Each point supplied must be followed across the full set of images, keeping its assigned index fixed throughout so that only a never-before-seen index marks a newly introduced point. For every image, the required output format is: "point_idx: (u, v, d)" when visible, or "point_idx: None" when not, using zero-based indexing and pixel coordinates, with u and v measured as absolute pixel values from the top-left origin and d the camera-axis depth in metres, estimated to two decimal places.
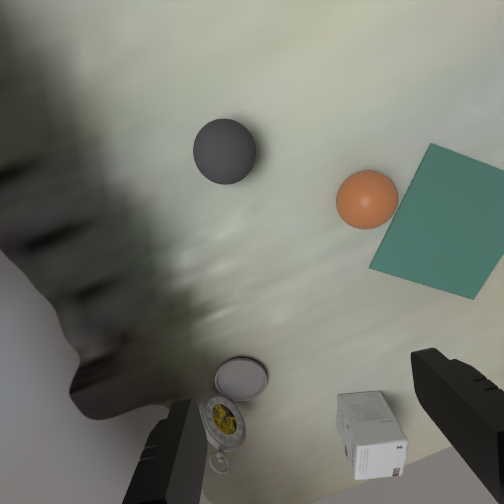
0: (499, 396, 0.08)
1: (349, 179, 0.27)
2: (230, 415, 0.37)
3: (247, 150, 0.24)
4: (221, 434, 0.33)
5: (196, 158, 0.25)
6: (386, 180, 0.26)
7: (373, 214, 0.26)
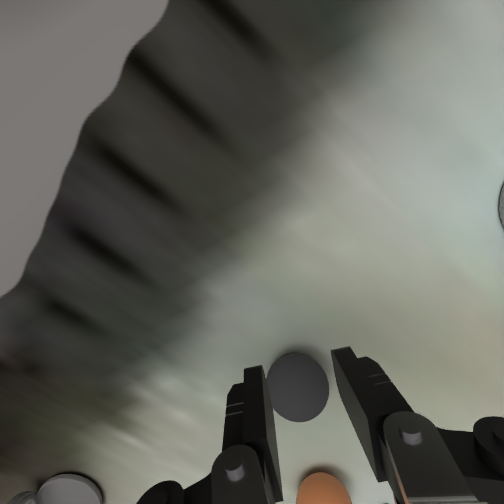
0: (388, 388, 0.09)
1: (333, 487, 0.28)
2: None
3: (314, 417, 0.24)
4: None
5: (281, 378, 0.24)
6: None
7: None
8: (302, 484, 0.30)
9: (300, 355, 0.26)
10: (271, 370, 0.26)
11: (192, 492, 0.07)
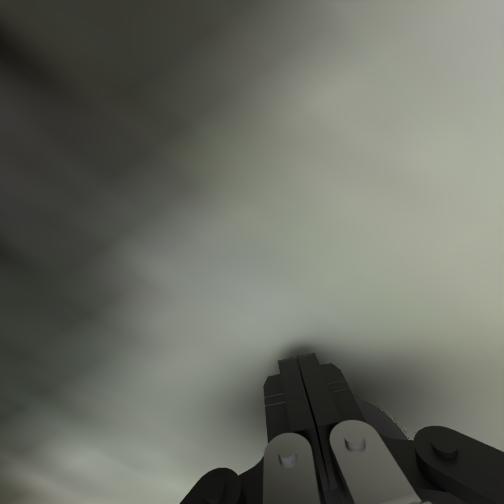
0: (345, 396, 0.09)
1: None
2: None
3: None
4: None
5: None
6: None
7: None
8: None
9: None
10: None
11: (244, 480, 0.07)
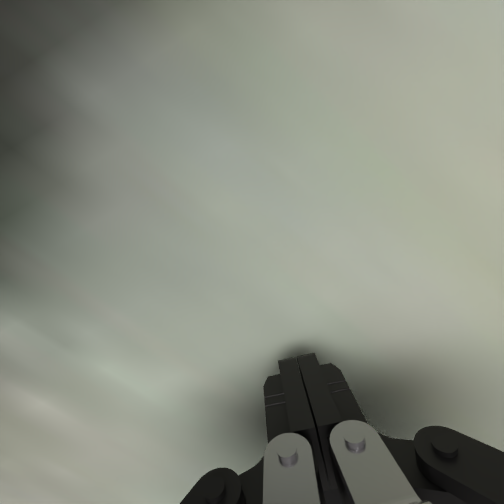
0: (345, 396, 0.09)
1: None
2: None
3: None
4: None
5: None
6: None
7: None
8: None
9: None
10: None
11: (244, 480, 0.07)
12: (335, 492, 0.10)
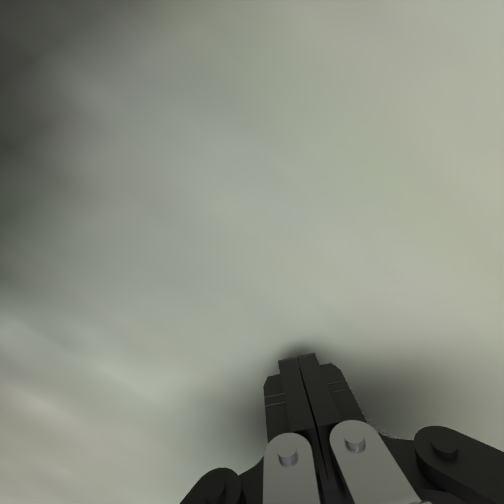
0: (345, 396, 0.09)
1: None
2: None
3: None
4: None
5: None
6: None
7: None
8: None
9: None
10: None
11: (244, 480, 0.07)
12: (335, 492, 0.10)
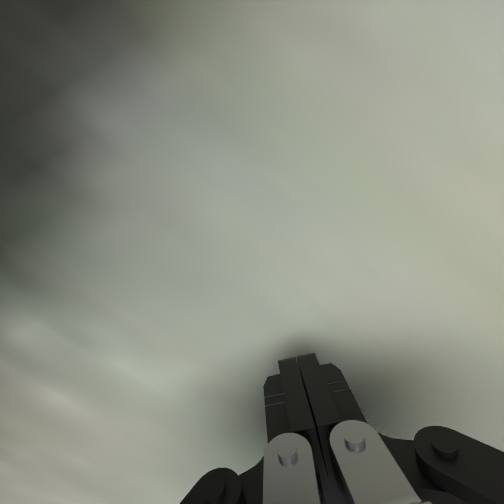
0: (345, 396, 0.09)
1: None
2: None
3: None
4: None
5: None
6: None
7: None
8: None
9: None
10: None
11: (244, 481, 0.07)
12: None
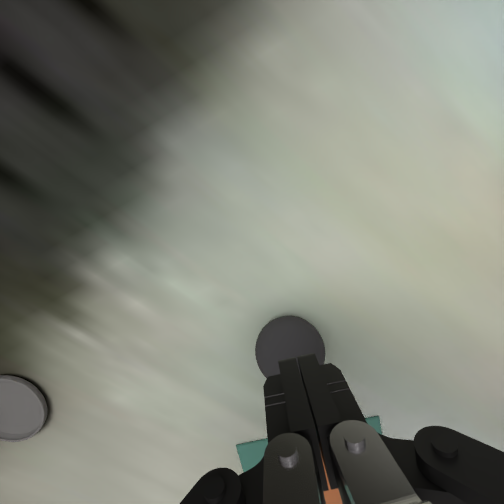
0: (345, 396, 0.09)
1: None
2: None
3: None
4: None
5: None
6: None
7: None
8: None
9: None
10: None
11: (244, 480, 0.07)
12: (288, 328, 0.22)
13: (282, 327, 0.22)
